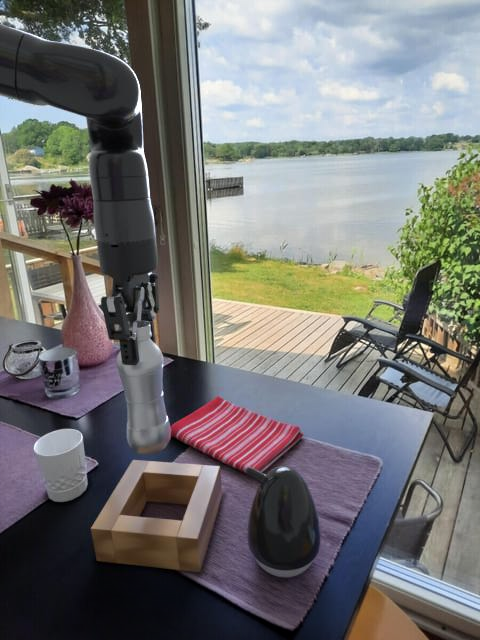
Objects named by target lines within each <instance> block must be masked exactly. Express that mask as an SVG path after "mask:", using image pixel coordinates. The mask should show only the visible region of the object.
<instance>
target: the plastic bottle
mask: <svg viewBox="0 0 480 640" xmlns="http://www.w3.org/2000/svg"><path fill="white" fill-rule="evenodd" d="M128 324H129V330H130V322H128ZM151 336H152V332H151V327H150V322H148V321H143V320H140V322H138V323H137V332H136V338H137V344H138V353H139V362H138V364H137V365H124V364H123V363H122V358H121V351H120V350H119V352H118V353H117V356H116V369H117V372H118V374H119V378H120V381H121V384H122V389H123V393H124V396H125V403H126V419H127V421H126V436H125V437H126V440H127V444H128V446H129V448H130V449H131V450H133V451H134V452H135V453H137V454H140V455H153V454H156V453H159V452H160V451H162V450H164V449H166V448H167V446H168V444H169V443H170V441H171V437H172V436H171V424H170V419H169V417H168V414H167V409H166V405H165V404H166V403H165V399H164V385H163V382H164V381H163V380H164V379H163V377H164V376H163V375H164V356H163V353H162V350H161V349H160V348H159V346H158V345H157V344H156V343H154V342H153V341H152V340H151V339H150V337H151Z"/></svg>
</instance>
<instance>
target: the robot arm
mask: <svg viewBox="0 0 480 640" xmlns="http://www.w3.org/2000/svg"><path fill="white" fill-rule="evenodd" d="M0 96H1V97H4V98H7V99H12V100H14V101H18V102H22V103H25V104H29V105H34V106H39V107H40V106H41V107H43V106H44V107H46V106H49V107H53V108H56V109H59V110H62V111H65V112H68V113H72V114H76V115H77V116H81V117H84V118H85V119H86V125H87V133H88V140H89V146H90V154H89V157H88V159H89V160H88V169H89V170H88V171H89V178H90V186H91V187H90V188H91V193H92V194H91V195H92V200H93V202H92V204H93V225H94V232H95V233H94V234H95V239H96V248H97V255H98V261H99V267H100V268H99V269H100V272H101V273H102V274H103V275H104V276H105V275H106V276H109V277H110V278H111V279H112V284H111V285H112V286H111V287H112V288H111V294H110V295H109V296H107V295H106V296H101V298H100V305H101V309H102V314H103V318H104V323H105V327H106V328H105V329H106V333H107V336H108V339H109V341H110V340H111V341H119V342H118V343H119V352H120V351H121V358H122V363H123V364H124V365H137V364H138V362H139V353H138V344H137V338H136V332H137V323H138V322H140V320H143V321H148V322H150V327H151V332H152V336H151V337H150V339H151V340H152V341H153V342H154V343H155V344H156V342H157V341H156V333H155V332H156V331H155V323H154V322H155V321H156V318H157V317H156V314H158V313H159V312H160V300H159V299H160V298H159V295H160V294H159V275H158V272H154V271H156V270H158V268H159V257H158V245H157V244H158V243H157V235H156V224H155V223H156V222H155V216H154V211H153V207H152V200H151V191H150V180H149V171H148V164H147V161H146V157H145V152H144V132H143V113H142V112H143V111H142V110H143V109H142V97H141V87H140V83H139V80H138V78H137V75H136V73H135V71H134V70H133V69H132V68H131V67H130V66H129V64H127V63H126V62H125V61H123V60H122V59H121V58H120V57H117V56H115V55H112V54H110V53H108V52H105V51H101V50H98V49H94V48H90V47H86V46H81V45H77V44H71V43H67V42H66V43H65V42H60V41H53V40H48V39H45V38H42V37H40V36H37V35H35V34H33V33H30V32H27V31H23V30H20V29H18V28H16V27H15V28H14V27H11V26H9V25H5V24H2V23H0ZM153 272H154V273H153ZM128 314H131V315H128ZM128 322H130V330H129V324H128Z"/></svg>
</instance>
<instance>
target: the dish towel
mask: <svg viewBox="0 0 480 640" xmlns="http://www.w3.org/2000/svg"><path fill="white" fill-rule="evenodd" d="M170 427H171V437H173V438H176V439H177V440H178V441H180V442H183V443H184V444H186V445H188V446H190V447H192V448H194V449H196V450H198V451H200V452H201V453H202V454H206V455H207V456H210V457H211V458H213V459H215V460H217V461H219V462H221V463H223V464H225V465H227V466H229V467H231V468H234V469H236V470H239V471H241V472H242V473H245V474H246V470H247V468H248V467H252V468H254V469H256V470H258V471H260V472H262V473H264V472H265V471H266V470H267V469H269V467H271V466H272V465H273V464H274V463H275V462H276V461H278V459H279V458H281V457H282V456H283V455H285V454H286V453H287V452H288V450H290V449H291V448H292V447H293V446H295V445H296V444H297V443H298V442H299V441H300V440H301V439H302V438H303V437H304V433H303V432H301V430H302V429H301V427H300V426H297V425H296V424H295V425H293V424H290V423H284V422H281V421H277V420H276V419H272V418H270V417H268V416H264V415H261V414H260V413H256V412H254V411H252V410H249V409H247V408H244V407H242V406H239V405H236V404H235V403H232V402H230V401H228V400H226V399H223V398H222V397H220V396H218V395H217V396H216V397H215V398H213V399H212V400H211V401H208V402H207V403H206V404H205V405H203V406H201V407H199V408H198V409H196V410H195V411H193V412H192V413H190V414H188V415H187V416H184V417H182V418H181V419H179V420H178V421H176V422H174V423H173V424H172V425H170Z"/></svg>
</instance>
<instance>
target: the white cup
mask: <svg viewBox="0 0 480 640" xmlns="http://www.w3.org/2000/svg"><path fill="white" fill-rule="evenodd" d="M33 452H34V456H35V460H36V462H37V466H38V469H39V473H40V476H41V479H42V483H43V485H44V487H45V489H46V493H47V496H48V499H49V500H51V501H52V502H55V503H64V502H69V501H70V502H71V501H73V500H74V499H77V498H78V497H81V496H82V494H83V493H84V492H85V491H86V490H87V488H88V484H89V482H88V474H87V461H86V452H85V444H84V436H83V434H82V432H81V431H79V430H78V429H74V428H61V429H57V430H54V431H51V432H48V433H46V434H44V435H43V436H41V437H40V438H38V439H37V440H36V441H35V443H34V444H33Z"/></svg>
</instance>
